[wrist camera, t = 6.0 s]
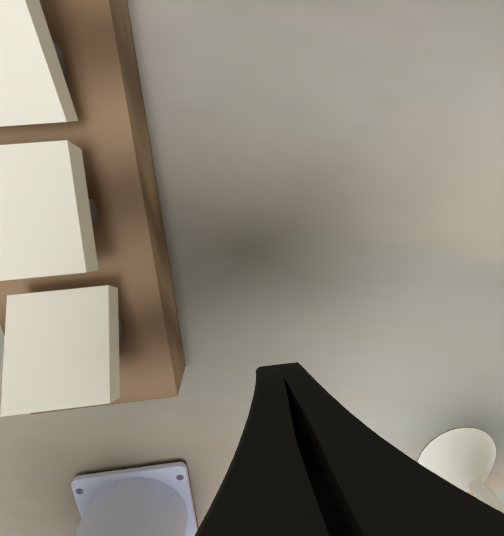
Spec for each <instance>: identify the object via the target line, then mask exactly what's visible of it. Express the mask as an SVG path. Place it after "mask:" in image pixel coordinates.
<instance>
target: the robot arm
mask: <svg viewBox="0 0 504 536" xmlns="http://www.w3.org/2000/svg"><path fill="white" fill-rule="evenodd" d="M71 488H72V491H73V495H74V498H75V501H76V504H77V507H78V511H79V514H80V517H81V522H80V525H79V527H78V529H77V531H76V533H75V535H74V536H504V513H503V512H501V511H499V510H497V509H495V508H493V507H491V506H490V505H488V504H486V503H484V502H482V501H481V500H479V499H477V498H475V497H474V496H472V495H470V494H468V493H467V492H465V491H463V490H461V489H460V488H458V487H456V486H455V485H453V484H451V483H450V482H448V481H447V480H445V479H443V478H442V477H440V476H438V475H437V474H435V473H433V472H432V471H430V470H428V469H427V468H425V467H424V466H422V465H421V464H419V463H418V462H416V461H414V460H413V459H411V458H410V457H408V456H407V455H405V454H404V453H403V452H401V451H400V450H398V449H397V448H396V447H394V446H393V445H391V444H390V443H388V442H387V441H386V440H384V439H383V438H381V437H380V436H379V435H377V434H376V433H375V432H373V431H372V430H371V429H370V428H368V427H367V426H366V425H365V424H363V423H362V422H361V421H360V420H359V419H357V418H356V417H355V416H354V415H352V414H351V413H350V412H349V411H348V410H347V409H346V408H344V407H343V406H342V405H341V404H340V403H339V402H338V401H337V400H336V399H334V398H333V397H332V396H331V395H330V394H329V393H328V392H327V391H326V390H325V389H324V388H323V387H322V386H321V385H320V384H319V383H318V382H317V381H316V380H315V379H314V378H313V377H312V376H311V375H310V374H309V373H308V372H307V371H306V370H305V369H304V368H303V367H302V366H301V365H300V364H299V363H298V362H296V363H288V364H279V365H271V366H263V367H259V368H258V369H257V370H256V385H255V391H254V396H253V400H252V404H251V408H250V412H249V415H248V419H247V422H246V425H245V428H244V430H243V433H242V436H241V439H240V442H239V445H238V447H237V450H236V452H235V455H234V457H233V460H232V462H231V464H230V467H229V469H228V471H227V473H226V476H225V478H224V480H223V482H222V484H221V486H220V488H219V490H218V492H217V494H216V496H215V498H214V500H213V502H212V504H211V506H210V508H209V510H208V512H207V514H206V516H205V518H204V520H203V521H202V523H201V525H200V527H199V529H198V527H197V522H196V516H195V510H194V505H193V499H192V494H191V488H190V482H189V477H188V471H187V466H186V464H185V463H183V462H175V463H167V464H160V465H152V466H145V467H138V468H130V469H123V470H115V471H108V472H101V473H93V474H86V475H79V476H76V477H75V478H74V479H73V481H72V483H71Z"/></svg>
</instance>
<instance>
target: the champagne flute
mask: <svg viewBox="0 0 504 536" xmlns="http://www.w3.org/2000/svg"><path fill="white" fill-rule="evenodd" d="M495 458H496V447H495V444H494V442H493V439H492V438H491V437H490V436H489V435H488V434H487V433H485V432H484V431H481V430H479V429H475V428H458V429H453V430H451V431H448V432H445V433H443V434H442V435H440V436H438V437H437V438H435V439H434V440H433V441H431V442H430V443H429V444H428V445H427V446H426V447H425V449H424V450H423V452H422V453H421V455H420V457H419V459H418V463H419V464H421V465H422V466H424V467H425V468H427V469H428V470H430V471H432V472H433V473H435V474H437V475H438V476H440V477H442V478H443V479H445V480H447V481H448V482H450V483H451V484H453V485H455V486H456V487H458V488H460V489H461V490H463V491H465V492H472V493H473V495H474V496H475V497H476V498H477V499H479V500H481V501H482V502H484V503H486V504H488V505H490V506H491V507H493V508H495V509H497V510H499V511H501V512H503V513H504V504H503V503H502V502H501V501H500V500H499V498H498V497H497V496H496V495H495V494H494V493H493V492H492V491H491V489H490V488H489V487H488V486H487V485H486V484H485V481H486V479H487V477H488V475H489V473H490V471H491V469H492V467H493V464H494V461H495Z"/></svg>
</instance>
